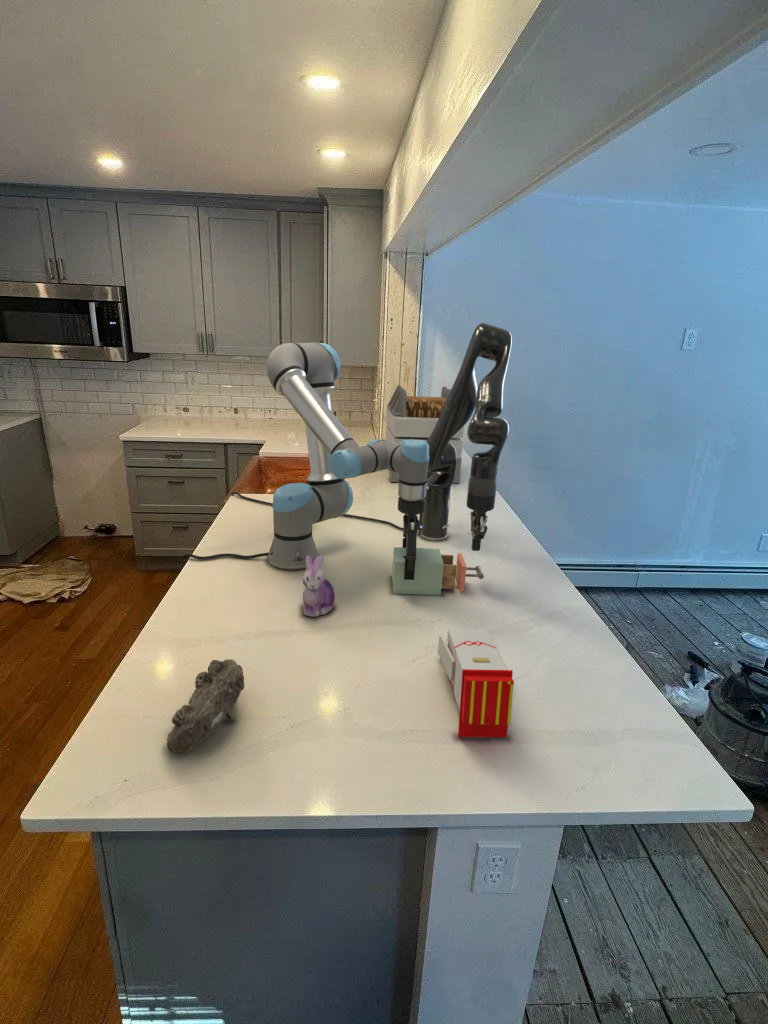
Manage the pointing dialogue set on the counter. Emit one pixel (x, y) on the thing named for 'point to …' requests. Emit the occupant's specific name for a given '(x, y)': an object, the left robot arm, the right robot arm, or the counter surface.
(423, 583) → the cabinet
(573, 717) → the counter surface
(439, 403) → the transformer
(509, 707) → the toy
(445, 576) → the drawer
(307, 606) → the figurine
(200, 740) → the fossil
